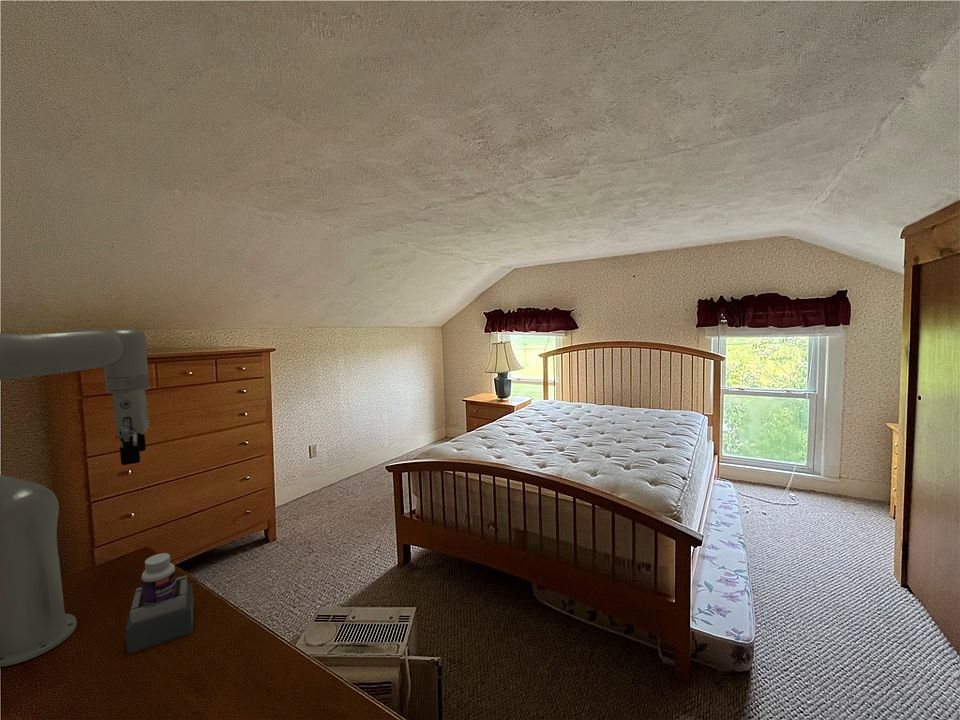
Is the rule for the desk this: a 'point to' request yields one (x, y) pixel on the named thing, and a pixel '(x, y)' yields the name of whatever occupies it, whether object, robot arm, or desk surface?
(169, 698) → the desk surface
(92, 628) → the desk surface
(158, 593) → the pill bottle
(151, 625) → the grey open box
